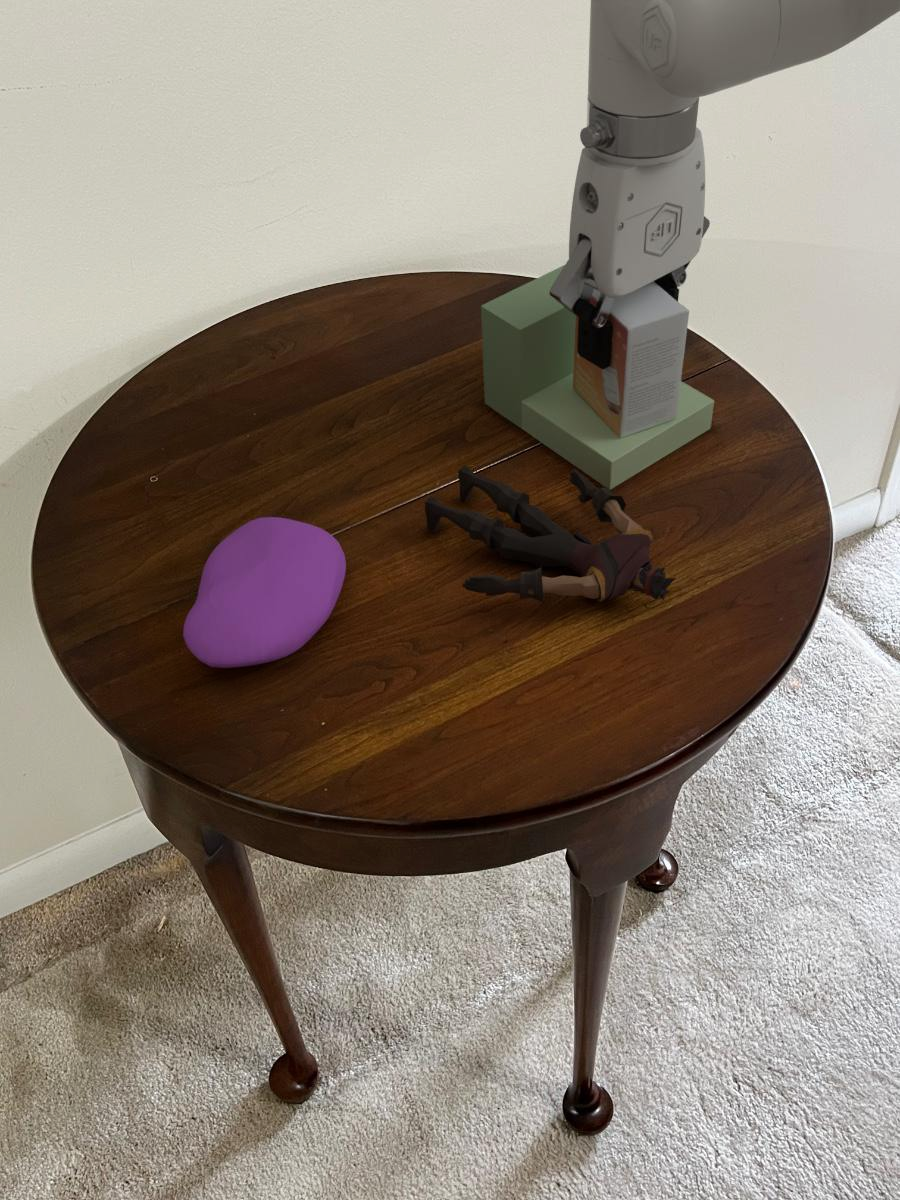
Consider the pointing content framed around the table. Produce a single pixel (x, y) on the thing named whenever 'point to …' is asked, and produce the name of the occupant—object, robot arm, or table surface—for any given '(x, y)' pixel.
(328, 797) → the table surface
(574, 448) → the green l-shaped step
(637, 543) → the figurine
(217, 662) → the blob
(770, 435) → the table surface
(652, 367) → the small box
